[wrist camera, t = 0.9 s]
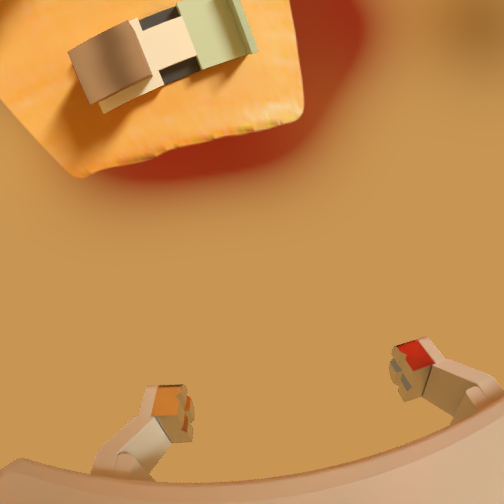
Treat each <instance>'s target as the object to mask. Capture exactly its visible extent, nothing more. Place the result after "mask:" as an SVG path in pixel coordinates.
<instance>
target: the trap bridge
mask: <svg viewBox="0 0 504 504" xmlns="http://www.w3.org/2000/svg"><path fill="white" fill-rule="evenodd" d="M129 23H130V24H131V26H132V27H133V29H134V30H135V32H136V35H137V37H138V40H139V42H140V45H141V47H142V50H143V52H144V55H145V57H146V60H147V62H148V65H149V67H150V69H151V72H152V74H153V76H152V77H150V78H148V79H145V80H143V81H141V82H139V83H137V84H135V85H133V86H131V87H128V88H126V89H124V90H122V91H120V92H119V93H117V94H115V95H113V96H111V97H109V98H107V99H105V100H103V101H100V102H98V104H99V106H100V108H101V110H102V112H103V114H105V113H107V112H109V111H111V110H113V109H114V108H116V107H118V106H120V105H122V104H124V103H126V102H128V101H130V100H132V99H134V98H136V97H138V96H140V95H143V94H145V93H147V92H149V91H151V90H153V89H156V88H158V87H160V86H163V85H165V84H167V83H169V82H172V81H174V80H176V79H179V78H181V77H184V76H186V75H189V74H192V73H194V72H197V71H200V70H203V69H205V68H208V67H211V66H214V65H217V64H220V63H223V62H226V61H229V60H232V59H235V58H238V57H242V56H245V55H249V54H253V53H256V52H259V51H258V49H257V46H256V43H255V40H254V37H253V34H252V32H251V29H250V26H249V23H248V21H247V18H246V15H245V13H244V10H243V7H242V5H241V2H240V0H183V1H180V2H177V3H176V6H175V7H172V8H170V9H167V10H164V11H161V12H159V13H156V14H154V15H151V16H149V17H146V18H144V19H141V20H139V21H138V18H136V19H133V20H131V21H129Z"/></svg>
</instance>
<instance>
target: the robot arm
mask: <svg viewBox="0 0 504 504" xmlns="http://www.w3.org/2000/svg"><path fill="white" fill-rule="evenodd" d="M392 355H393V357H394V358H393V359H392V360H391V361H390V366H389V370H390V376H391V379H392V381H393V383H395V384H396V385H398V386H399V389H398V392H399V394H400V395H401V397H402V399H403V401H404V402H406V401H409V400H413V399H415V398H418V397H421V396H422V397H423V398H424V399H426V400H428V401H429V402H431V403H432V404H434V405H436V406H437V407H439V408H440V409H442V410H444V411H445V412H447V413H449V414H450V415H452V416H453V419H452V421H451V423H450V425H449V426H447V427H445V428H443V429H441V430H439V431H437V432H434V433H432V434H429V435H427V436H425V437H422V438H420V439H417V440H415V441H412V442H409V443H407V444H404V445H401V446H399V447H396V448H393V449H390V450H387V451H385V452H382V453H378V454H375V455H372V456H369V457H365V458H362V459H359V460H355V461H351V462H347V463H343V464H340V465H336V466H331V467H327V468H322V469H319V470H313V471H308V472H303V473H298V474H292V475H285V476H279V477H272V478H264V479H255V480H245V481H232V482H213V483H168V482H156V481H155V480H154V479H153V478H152V477H151V476H150V475H149V473H150V472H151V470H152V469H153V468H154V466H155V465H156V464H157V463H158V461H159V460H160V459H161V457H162V456H163V455H164V454H165V452H166V451H167V450H168V448H169V447H170V446H171V443H182V442H192V438H193V427H192V425H191V423H192V421H193V420H194V406H193V402H192V400H191V398H190V397H189V396H187V388H186V386H185V385H183V384H180V385H158V386H147V387H146V389H145V391H144V395H143V399H142V403H141V406H140V410H139V414H138V416H136V417H134V418H132V419H131V420H130V421H129V422H128V423H127V424H126V425H125V426H124V427H123V428H122V429H121V430H119V431H118V432H117V433H116V434H115V435H114V436H113V437H112V438H110V439H109V441H107V442H106V443H105V444H104V445H103V446H102V447H100V448H99V449H98V451H97V454H96V457H95V460H94V464H93V468H92V471H91V474H86V473H81V472H75V471H71V470H66V469H62V468H58V467H53V466H49V465H46V464H42V463H39V462H35V461H32V460H29V459H25V458H19V459H16V460H14V461H13V462H11V463H10V464H8V465H7V466H5V467H4V468H2V469H1V470H0V504H504V390H503V389H502V388H501V386H500V385H499V384H498V383H497V381H496V380H495V379H494V378H493V376H491V375H488V374H486V373H483V372H481V371H478V370H476V369H473V368H471V367H468V366H465V365H463V364H460V363H458V362H455V361H453V360H450V359H447V360H446V359H445V358H444V357H443V355H442V354H441V353H440V352H439V350H438V349H437V348H436V347H435V345H434V344H433V343H432V342H431V340H430V339H429V338H428V337H426V336H425V337H422V338H419V339H416V340H413V341H410V342H407V343H403V344H400V345H397V346H394V347H393V349H392Z"/></svg>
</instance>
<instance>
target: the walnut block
mask: <svg viewBox="0 0 504 504" xmlns="http://www.w3.org/2000/svg"><path fill="white" fill-rule="evenodd" d="M68 54H69V57H70V59H71V62H72V64H73V67H74V69H75V71H76V74H77V76H78V79H79V81H80V83H81V86H82V88H83V90H84V93H85V95H86V97H87V99H88V102H89V104H90V105H92V104H95V103H97V102H100V101H103V100H105V99H107V98H109V97H111V96H113V95H115V94H117V93H119V92H120V91H122V90H124V89H126V88H128V87H131V86H133V85H135V84H137V83H139V82H141V81H143V80H145V79H148V78H150V77H152V76H153V74H152V72H151V69H150V67H149V65H148V62H147V60H146V57H145V55H144V52H143V50H142V47H141V45H140V42H139V40H138V37H137V35H136V32H135V30H134V29H133V27H132V26H131V24H130V23H129V21H128V20H127V21H125V22H123V23H121V24H119V25H116V26H114V27H112V28H110V29H108V30H106V31H104V32H102V33H100V34H98V35H97V36H95V37H93V38H91V39H89V40H87V41H86V42H84V43H82V44H80V45H78V46H77V47H75V48H73V49H72V50H70V51H68Z"/></svg>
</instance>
